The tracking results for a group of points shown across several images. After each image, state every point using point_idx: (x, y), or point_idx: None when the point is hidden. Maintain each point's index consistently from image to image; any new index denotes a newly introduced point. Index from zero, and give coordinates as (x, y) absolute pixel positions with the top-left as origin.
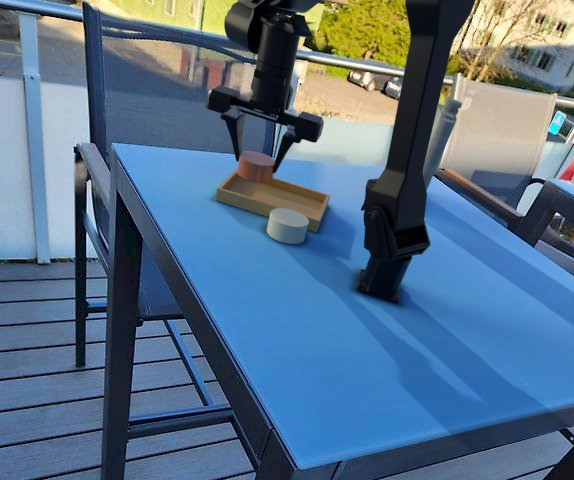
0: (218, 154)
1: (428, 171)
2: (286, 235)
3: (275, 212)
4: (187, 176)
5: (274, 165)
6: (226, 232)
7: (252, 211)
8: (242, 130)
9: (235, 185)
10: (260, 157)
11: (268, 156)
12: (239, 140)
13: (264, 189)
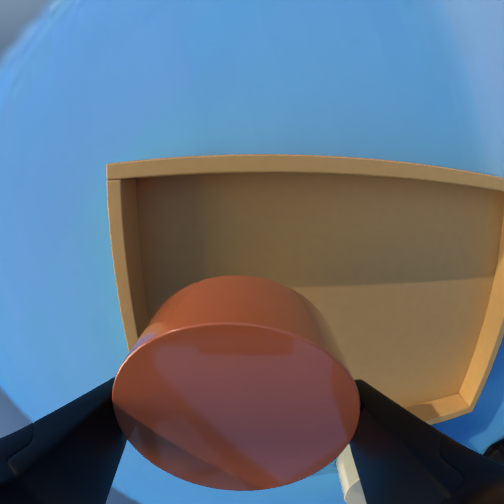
0: (34, 26)
1: None
2: None
3: (357, 491)
4: (28, 309)
5: (353, 449)
6: (255, 501)
7: None
8: (40, 489)
9: (162, 303)
10: (244, 413)
11: (293, 349)
12: (93, 492)
13: (283, 246)
